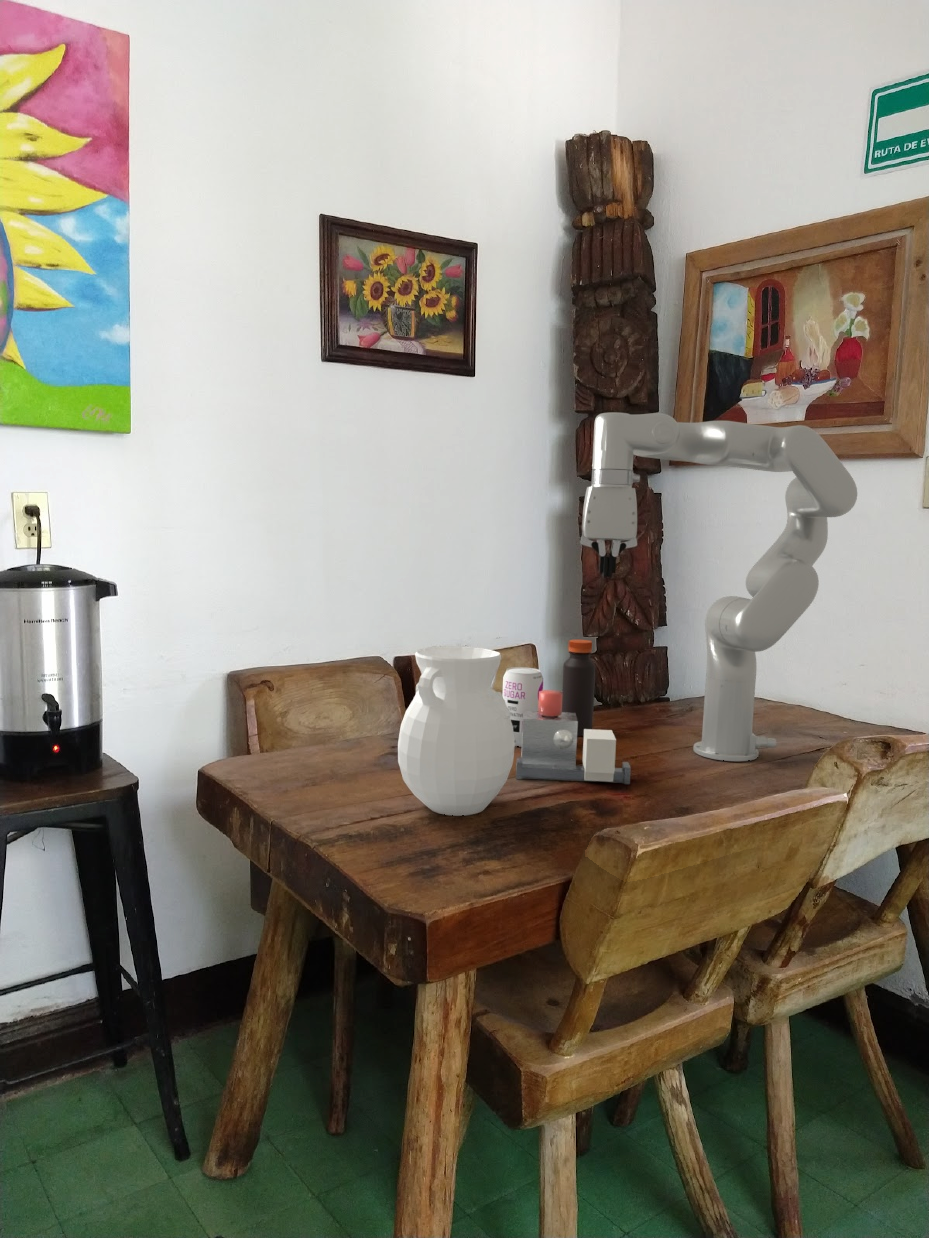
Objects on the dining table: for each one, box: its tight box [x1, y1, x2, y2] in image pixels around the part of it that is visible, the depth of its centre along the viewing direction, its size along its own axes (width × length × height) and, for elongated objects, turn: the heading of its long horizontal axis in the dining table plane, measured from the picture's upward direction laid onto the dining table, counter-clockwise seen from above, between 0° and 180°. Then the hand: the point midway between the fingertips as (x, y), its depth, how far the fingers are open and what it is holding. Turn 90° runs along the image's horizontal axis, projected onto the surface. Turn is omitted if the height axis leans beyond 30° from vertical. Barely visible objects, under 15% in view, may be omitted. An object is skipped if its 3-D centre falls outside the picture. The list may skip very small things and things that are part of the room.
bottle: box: [561, 639, 596, 737], centre depth 197 cm, size 7×7×20 cm
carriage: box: [582, 728, 617, 783], centre depth 164 cm, size 5×7×8 cm
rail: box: [515, 756, 632, 785], centre depth 164 cm, size 20×4×3 cm, turn 87°
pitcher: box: [397, 645, 516, 817], centre depth 146 cm, size 19×18×25 cm
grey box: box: [520, 711, 578, 766], centre depth 174 cm, size 10×7×9 cm
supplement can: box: [502, 666, 544, 748], centre depth 188 cm, size 8×8×15 cm
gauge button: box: [538, 689, 563, 718], centre depth 173 cm, size 4×4×8 cm
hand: (606, 577), depth 176 cm, fingers closed
